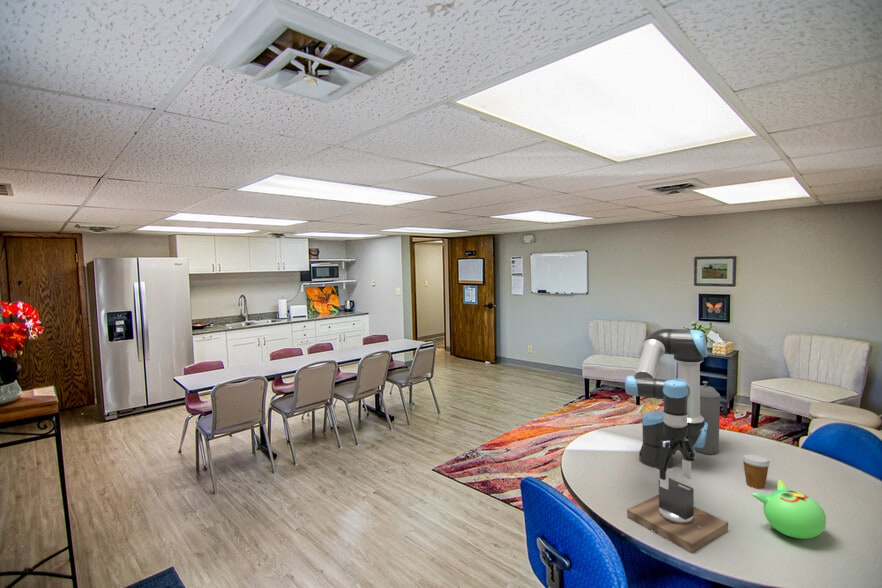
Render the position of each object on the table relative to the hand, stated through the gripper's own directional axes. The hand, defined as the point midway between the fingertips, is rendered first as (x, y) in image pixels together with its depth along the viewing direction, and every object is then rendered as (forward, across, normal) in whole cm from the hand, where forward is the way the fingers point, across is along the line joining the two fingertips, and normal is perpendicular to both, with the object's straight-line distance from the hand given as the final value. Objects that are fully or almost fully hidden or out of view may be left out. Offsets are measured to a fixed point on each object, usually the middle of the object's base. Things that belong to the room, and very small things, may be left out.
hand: (675, 482), depth 152 cm
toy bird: (+15, +28, -24) cm, 40 cm away
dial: (+12, 0, 0) cm, 12 cm away
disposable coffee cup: (+15, +54, -2) cm, 56 cm away
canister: (+15, +72, +28) cm, 78 cm away
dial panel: (+15, 0, 0) cm, 15 cm away
